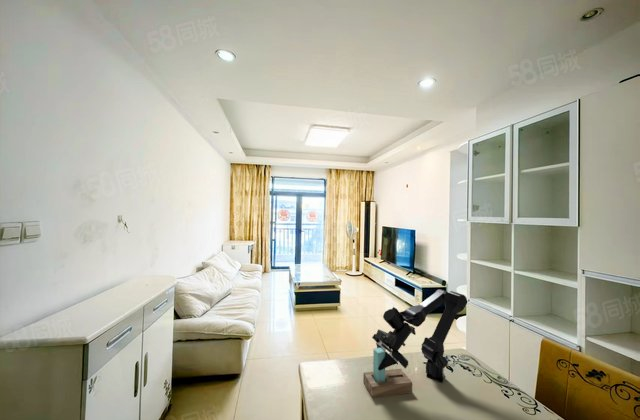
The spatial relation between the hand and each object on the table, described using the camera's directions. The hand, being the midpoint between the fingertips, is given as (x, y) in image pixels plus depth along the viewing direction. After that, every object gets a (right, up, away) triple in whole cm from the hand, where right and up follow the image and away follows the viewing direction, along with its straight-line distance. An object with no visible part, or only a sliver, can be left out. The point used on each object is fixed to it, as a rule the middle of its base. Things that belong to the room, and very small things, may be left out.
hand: (376, 366), depth 98 cm
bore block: (+5, -9, +1) cm, 10 cm away
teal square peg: (+1, -7, 0) cm, 7 cm away
